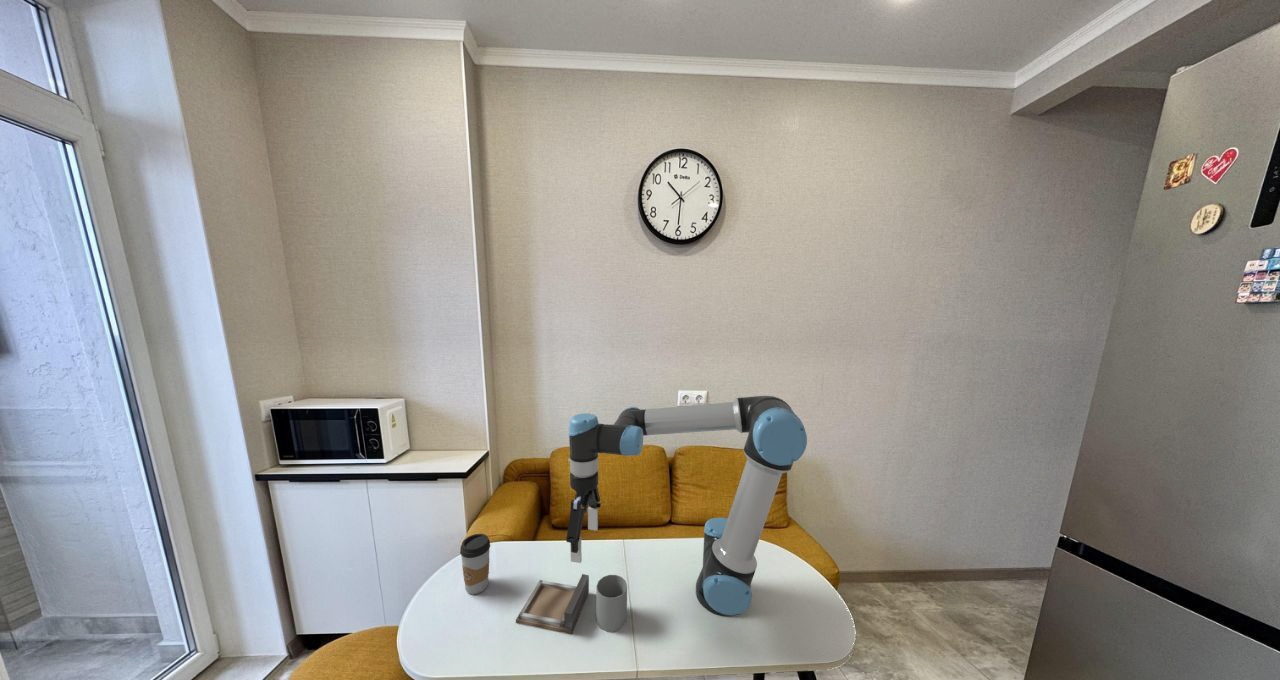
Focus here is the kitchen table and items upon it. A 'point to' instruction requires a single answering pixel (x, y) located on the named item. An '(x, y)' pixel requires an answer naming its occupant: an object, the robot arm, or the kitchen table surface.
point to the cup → (611, 603)
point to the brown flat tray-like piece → (555, 605)
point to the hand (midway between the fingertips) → (585, 544)
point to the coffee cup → (475, 562)
